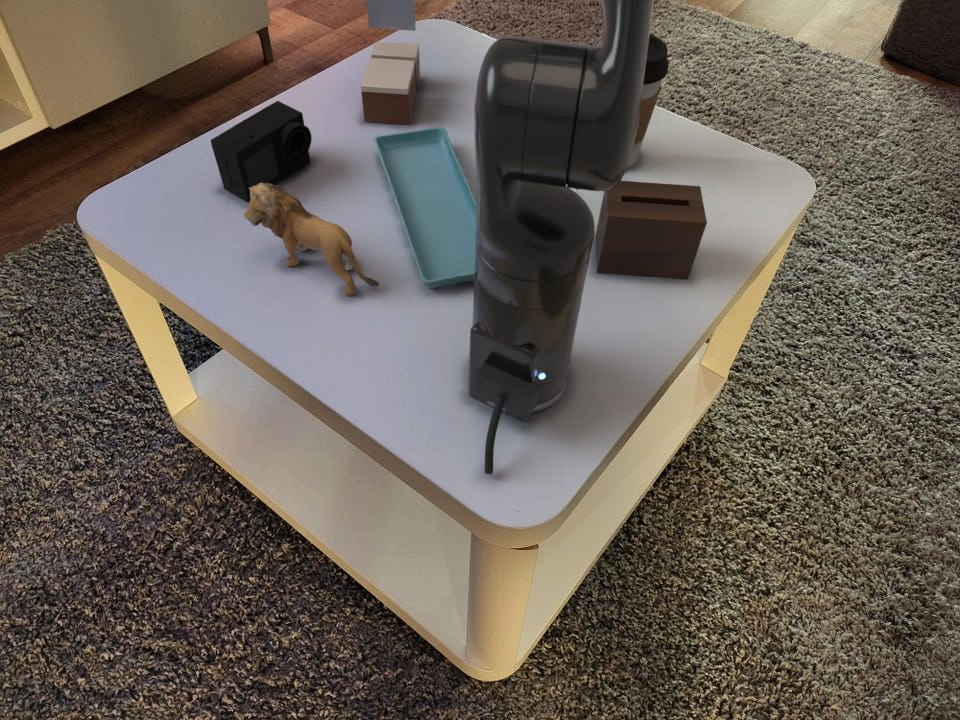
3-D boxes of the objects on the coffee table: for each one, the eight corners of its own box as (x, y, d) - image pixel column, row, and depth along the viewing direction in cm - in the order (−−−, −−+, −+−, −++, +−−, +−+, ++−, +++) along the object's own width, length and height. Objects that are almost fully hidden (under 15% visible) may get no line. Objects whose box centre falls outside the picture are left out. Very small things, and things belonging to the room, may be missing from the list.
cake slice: (417, 92, 105) (415, 57, 101) (373, 89, 105) (370, 54, 101) (420, 79, 107) (418, 44, 103) (377, 76, 107) (375, 41, 103)
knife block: (688, 279, 83) (707, 222, 77) (596, 272, 83) (608, 215, 77) (682, 242, 87) (700, 185, 80) (595, 236, 87) (606, 179, 81)
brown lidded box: (409, 125, 100) (407, 89, 96) (364, 122, 100) (360, 85, 96) (416, 96, 104) (414, 60, 100) (373, 93, 104) (369, 57, 100)
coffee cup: (570, 163, 96) (586, 50, 84) (595, 129, 100) (614, 18, 89) (633, 184, 93) (658, 70, 82) (655, 148, 98) (683, 37, 86)
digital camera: (255, 208, 88) (242, 157, 83) (223, 189, 90) (209, 139, 85) (318, 165, 94) (310, 115, 88) (287, 149, 96) (277, 99, 90)
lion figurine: (249, 262, 82) (230, 196, 76) (276, 233, 86) (261, 166, 79) (367, 304, 79) (359, 238, 72) (391, 272, 82) (386, 206, 75)
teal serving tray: (506, 281, 82) (507, 264, 80) (423, 297, 80) (422, 280, 78) (444, 142, 98) (444, 125, 96) (374, 153, 96) (372, 136, 94)
